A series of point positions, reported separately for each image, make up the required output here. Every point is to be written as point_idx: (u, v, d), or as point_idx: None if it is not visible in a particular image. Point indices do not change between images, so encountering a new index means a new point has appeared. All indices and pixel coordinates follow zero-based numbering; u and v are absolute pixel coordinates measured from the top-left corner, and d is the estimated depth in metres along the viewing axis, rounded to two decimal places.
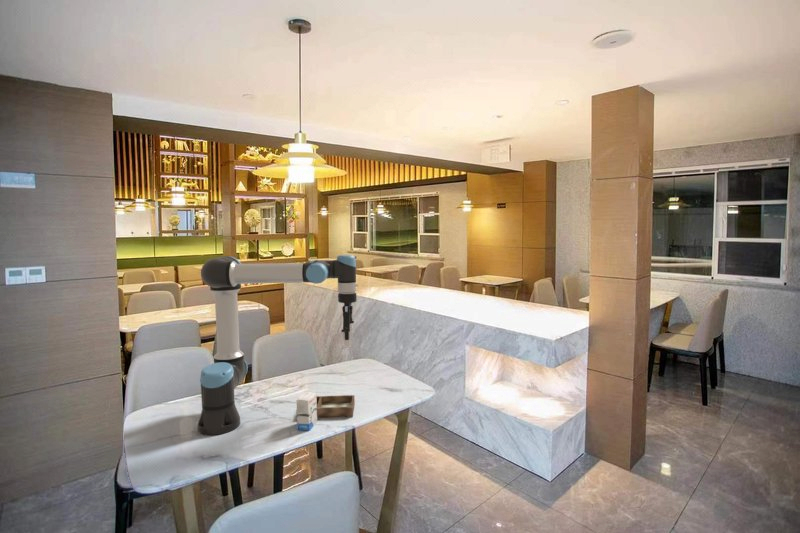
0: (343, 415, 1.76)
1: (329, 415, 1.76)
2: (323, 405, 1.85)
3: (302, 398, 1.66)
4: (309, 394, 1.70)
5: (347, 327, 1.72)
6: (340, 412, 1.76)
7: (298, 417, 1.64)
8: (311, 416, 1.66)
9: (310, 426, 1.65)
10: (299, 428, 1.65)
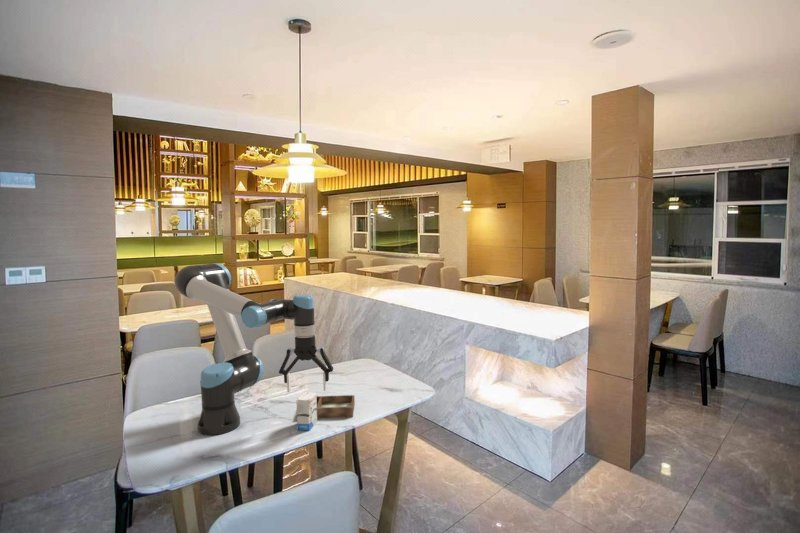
0: (343, 415, 1.76)
1: (329, 415, 1.76)
2: (323, 405, 1.85)
3: (302, 398, 1.66)
4: (309, 394, 1.70)
5: (280, 369, 1.66)
6: (340, 412, 1.76)
7: (298, 417, 1.64)
8: (311, 416, 1.66)
9: (310, 426, 1.65)
10: (299, 428, 1.65)
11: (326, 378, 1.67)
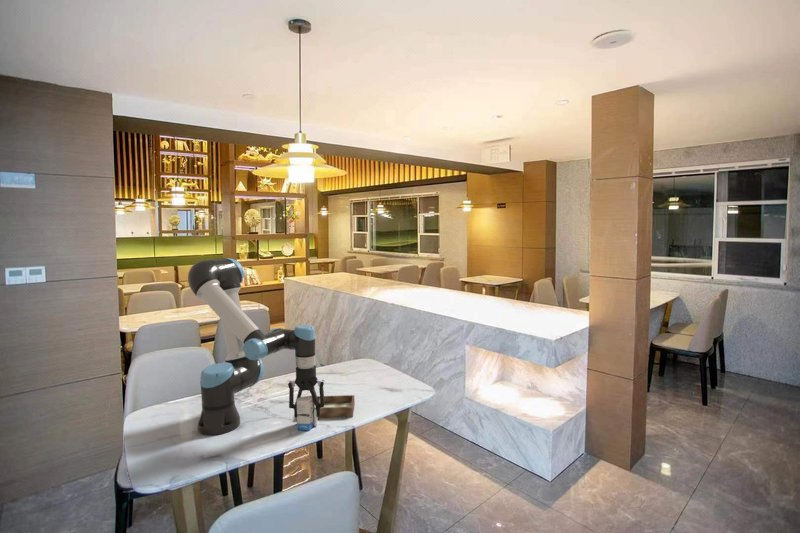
0: (343, 415, 1.76)
1: (329, 415, 1.76)
2: None
3: (302, 398, 1.66)
4: (309, 394, 1.70)
5: None
6: (340, 412, 1.76)
7: (298, 417, 1.64)
8: (311, 416, 1.66)
9: (310, 426, 1.65)
10: (299, 428, 1.65)
11: (317, 413, 1.68)
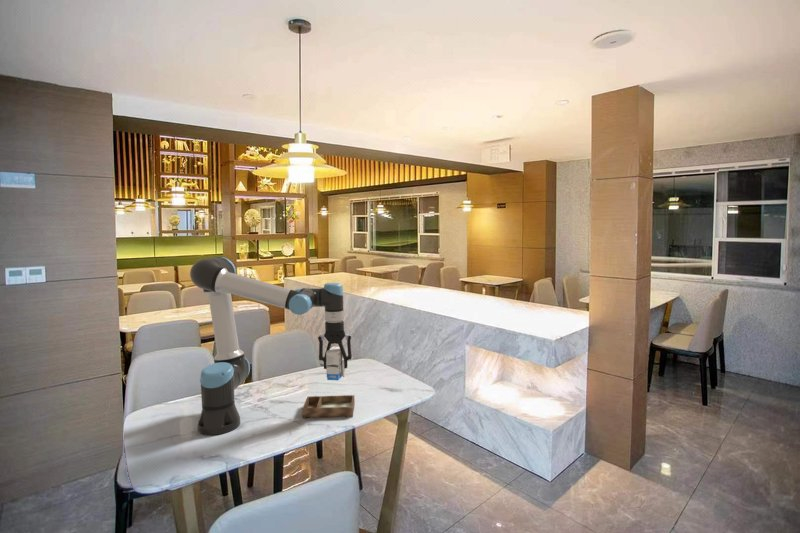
0: (343, 415, 1.76)
1: (329, 415, 1.76)
2: (323, 405, 1.85)
3: (331, 350, 1.77)
4: (337, 348, 1.82)
5: None
6: (340, 412, 1.76)
7: (328, 368, 1.76)
8: (340, 368, 1.78)
9: (339, 376, 1.77)
10: (328, 378, 1.77)
11: (345, 365, 1.80)
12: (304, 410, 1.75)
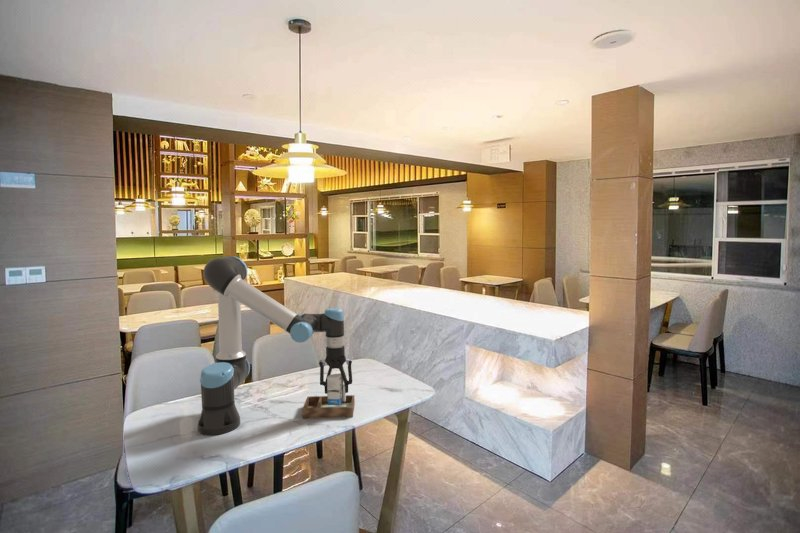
0: (343, 415, 1.76)
1: (329, 415, 1.76)
2: (323, 405, 1.85)
3: (332, 375, 1.79)
4: (338, 372, 1.83)
5: None
6: (340, 412, 1.76)
7: (329, 393, 1.77)
8: (340, 392, 1.79)
9: (340, 401, 1.78)
10: (329, 403, 1.78)
11: (346, 390, 1.81)
12: (304, 410, 1.75)
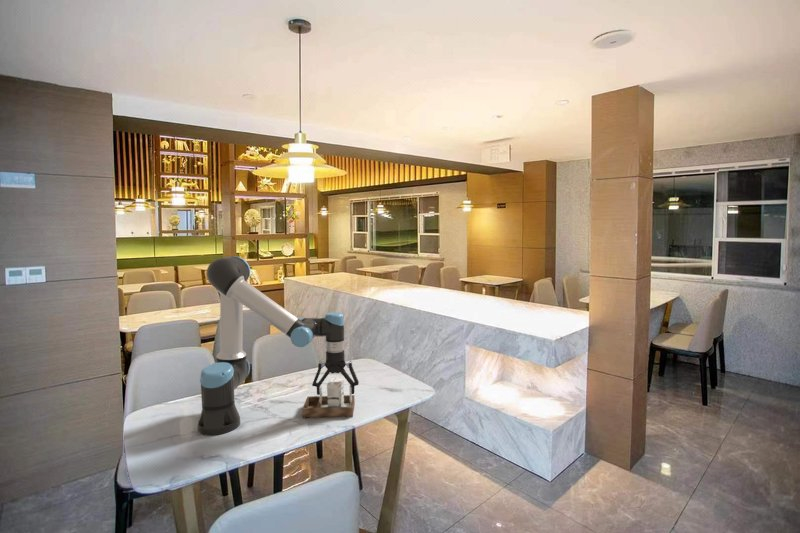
0: (343, 415, 1.76)
1: (329, 415, 1.76)
2: (323, 405, 1.85)
3: (332, 383, 1.79)
4: (337, 379, 1.83)
5: (313, 382, 1.80)
6: (340, 412, 1.76)
7: (328, 400, 1.78)
8: (340, 399, 1.80)
9: None
10: None
11: (352, 391, 1.81)
12: (304, 410, 1.75)
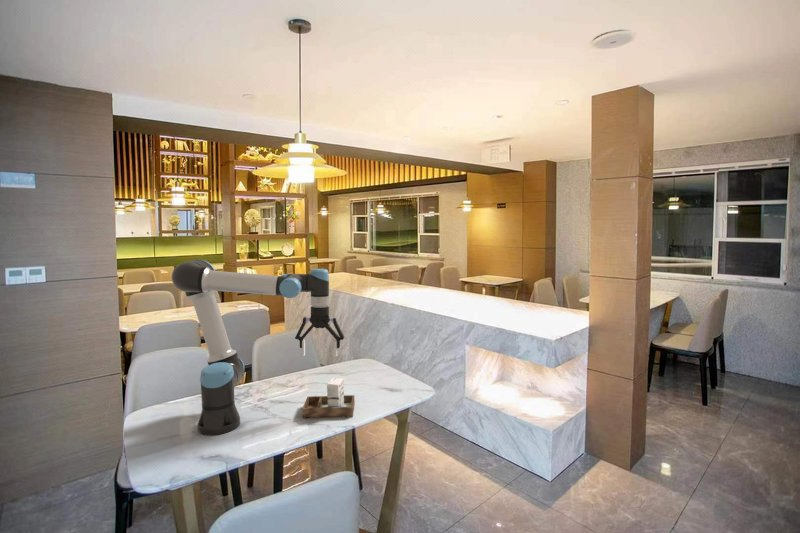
0: (343, 415, 1.76)
1: (329, 415, 1.76)
2: (323, 405, 1.85)
3: (332, 383, 1.79)
4: (337, 379, 1.83)
5: (296, 335, 1.83)
6: (340, 412, 1.76)
7: (328, 400, 1.78)
8: (340, 399, 1.80)
9: None
10: None
11: (337, 345, 1.84)
12: (304, 410, 1.75)
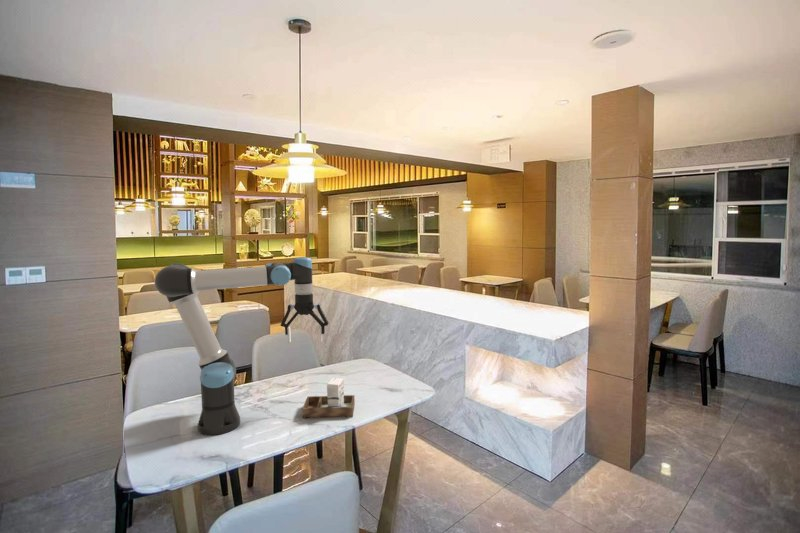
0: (343, 415, 1.76)
1: (329, 415, 1.76)
2: (323, 405, 1.85)
3: (332, 383, 1.79)
4: (337, 379, 1.83)
5: None
6: (340, 412, 1.76)
7: (328, 400, 1.78)
8: (340, 399, 1.80)
9: None
10: None
11: (322, 331, 1.89)
12: (304, 410, 1.75)
